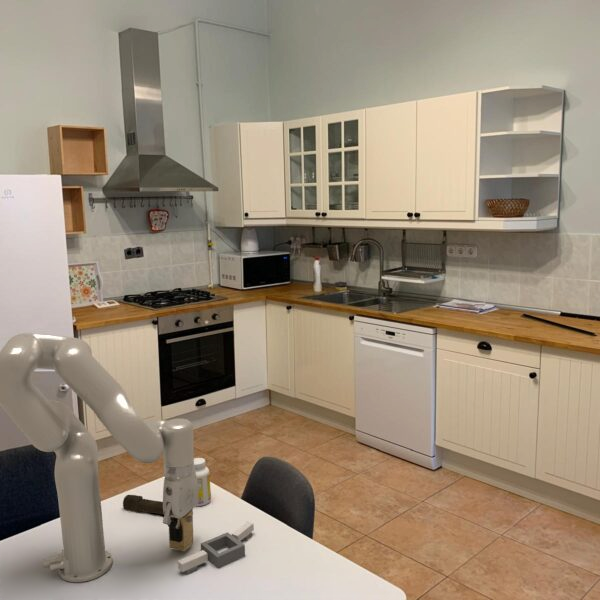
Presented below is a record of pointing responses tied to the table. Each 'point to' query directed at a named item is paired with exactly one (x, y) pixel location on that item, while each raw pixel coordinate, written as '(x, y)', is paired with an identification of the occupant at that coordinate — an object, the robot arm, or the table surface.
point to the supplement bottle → (202, 481)
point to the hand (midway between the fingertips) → (181, 535)
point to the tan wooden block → (184, 533)
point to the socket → (218, 543)
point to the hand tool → (142, 504)
